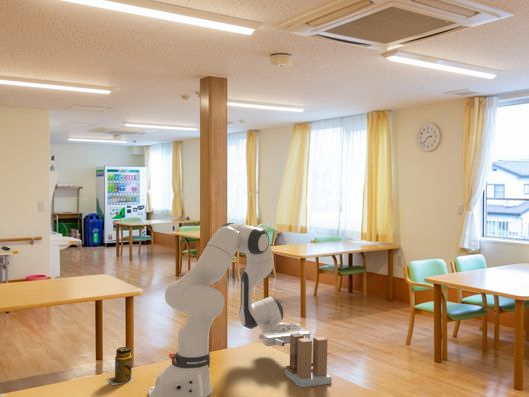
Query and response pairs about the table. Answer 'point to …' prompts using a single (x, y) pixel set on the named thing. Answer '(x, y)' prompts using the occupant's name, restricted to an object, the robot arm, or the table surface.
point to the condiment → (122, 367)
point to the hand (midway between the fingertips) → (293, 343)
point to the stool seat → (310, 363)
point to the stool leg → (294, 350)
